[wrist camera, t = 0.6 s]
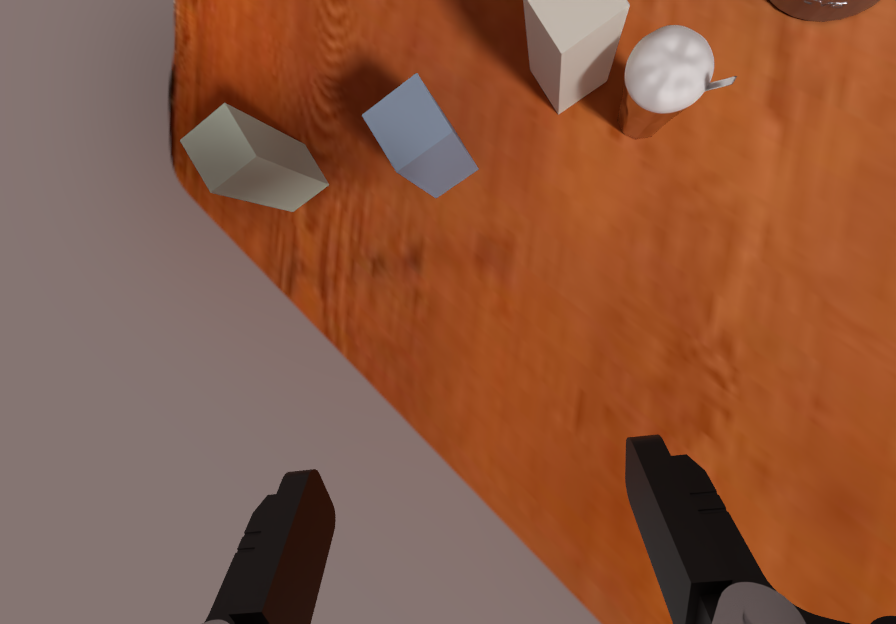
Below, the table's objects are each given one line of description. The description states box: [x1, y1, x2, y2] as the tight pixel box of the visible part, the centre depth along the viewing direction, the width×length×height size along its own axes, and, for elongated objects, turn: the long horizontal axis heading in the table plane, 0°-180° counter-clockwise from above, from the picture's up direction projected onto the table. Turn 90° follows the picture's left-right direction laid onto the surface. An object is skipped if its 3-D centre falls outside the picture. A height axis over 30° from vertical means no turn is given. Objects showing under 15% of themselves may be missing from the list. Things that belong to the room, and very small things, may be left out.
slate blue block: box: [362, 73, 478, 198], centre depth 32 cm, size 4×4×10 cm
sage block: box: [180, 103, 329, 212], centre depth 35 cm, size 4×4×10 cm
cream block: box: [523, 0, 630, 115], centre depth 30 cm, size 4×4×10 cm
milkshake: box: [617, 25, 737, 139], centre depth 29 cm, size 4×5×10 cm
